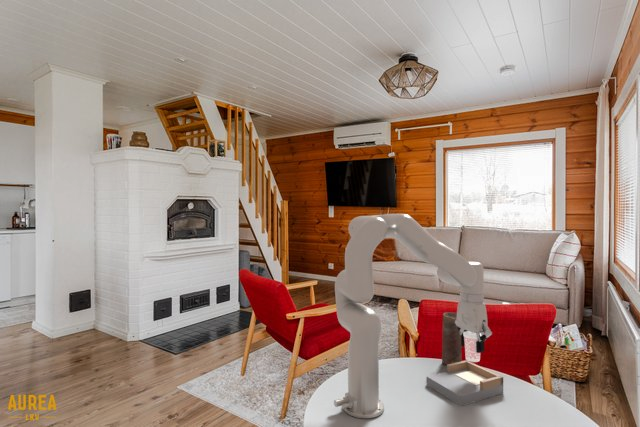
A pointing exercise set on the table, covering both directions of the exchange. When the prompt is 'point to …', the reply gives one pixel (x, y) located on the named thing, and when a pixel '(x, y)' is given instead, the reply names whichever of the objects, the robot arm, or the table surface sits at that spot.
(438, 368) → the table surface
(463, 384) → the dock
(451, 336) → the brown rough cylinder
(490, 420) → the table surface
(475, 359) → the beverage cup
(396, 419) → the table surface
